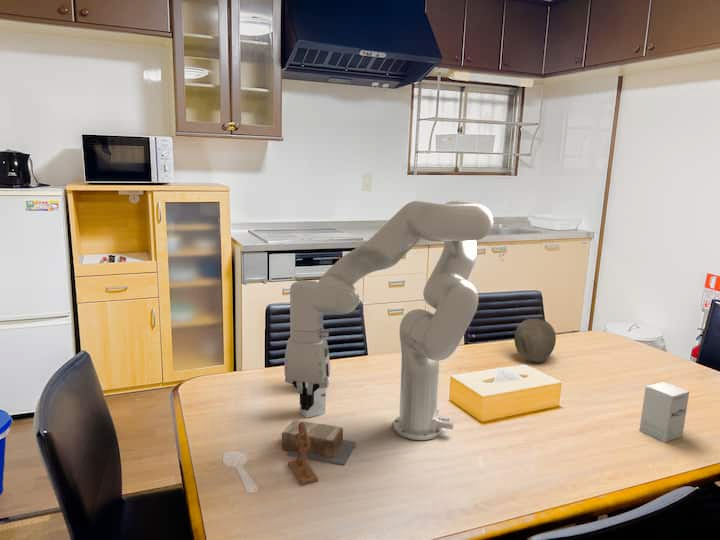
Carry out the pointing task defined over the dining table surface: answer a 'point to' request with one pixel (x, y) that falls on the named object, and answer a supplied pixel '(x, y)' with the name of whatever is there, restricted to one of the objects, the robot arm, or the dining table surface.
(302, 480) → the wooden figurine
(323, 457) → the rubber mat
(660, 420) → the supplement box
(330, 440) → the walnut box
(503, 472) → the dining table surface
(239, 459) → the spoon
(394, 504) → the dining table surface
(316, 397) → the skincare box
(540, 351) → the cantaloupe
